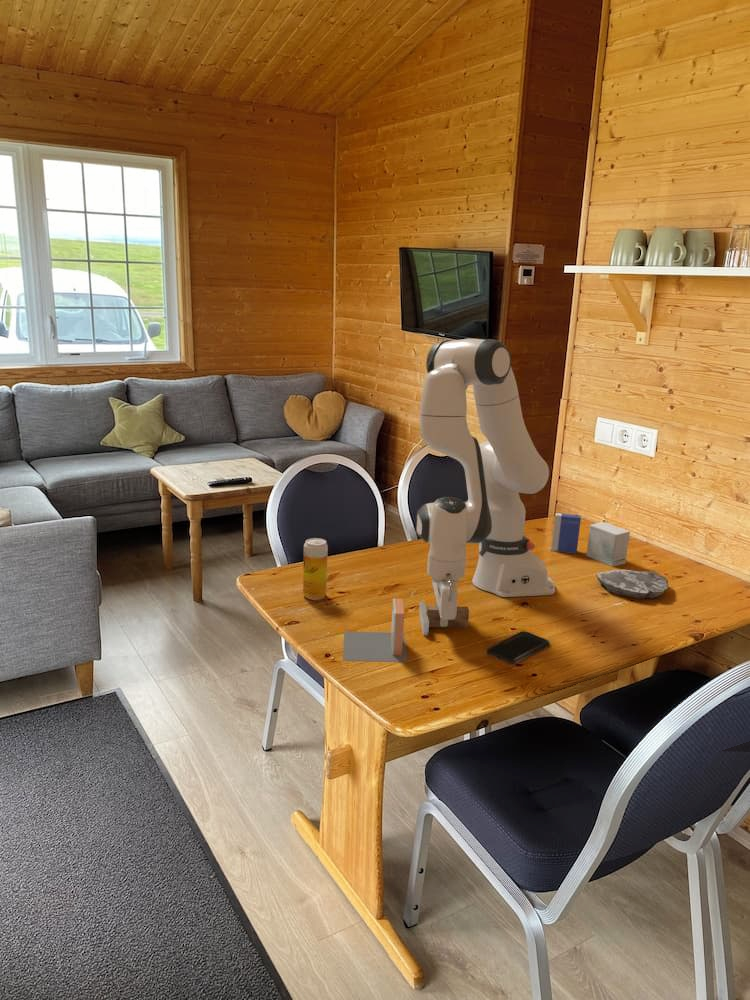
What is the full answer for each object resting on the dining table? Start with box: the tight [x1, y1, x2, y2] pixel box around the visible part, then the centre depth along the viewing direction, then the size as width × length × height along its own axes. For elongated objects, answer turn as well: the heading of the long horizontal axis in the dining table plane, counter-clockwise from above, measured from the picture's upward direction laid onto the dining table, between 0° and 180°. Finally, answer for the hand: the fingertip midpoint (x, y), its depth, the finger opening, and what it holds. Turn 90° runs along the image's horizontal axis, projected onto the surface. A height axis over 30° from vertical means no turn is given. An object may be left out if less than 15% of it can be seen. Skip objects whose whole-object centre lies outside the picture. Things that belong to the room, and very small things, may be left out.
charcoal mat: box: [342, 630, 408, 663], centre depth 172 cm, size 14×14×1 cm
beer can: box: [302, 537, 329, 601], centre depth 196 cm, size 6×6×15 cm
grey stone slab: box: [595, 569, 669, 599], centre depth 211 cm, size 20×17×3 cm
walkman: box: [550, 512, 582, 554], centre depth 238 cm, size 8×3×12 cm, turn 75°
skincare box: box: [586, 521, 631, 568], centre depth 232 cm, size 10×6×10 cm, turn 33°
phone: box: [486, 630, 550, 665], centre depth 175 cm, size 8×1×15 cm
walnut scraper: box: [418, 600, 470, 637], centre depth 183 cm, size 11×12×5 cm
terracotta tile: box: [390, 598, 405, 655], centre depth 170 cm, size 2×8×10 cm, turn 1°
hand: (442, 620), depth 183 cm, fingers open, 4 cm apart
